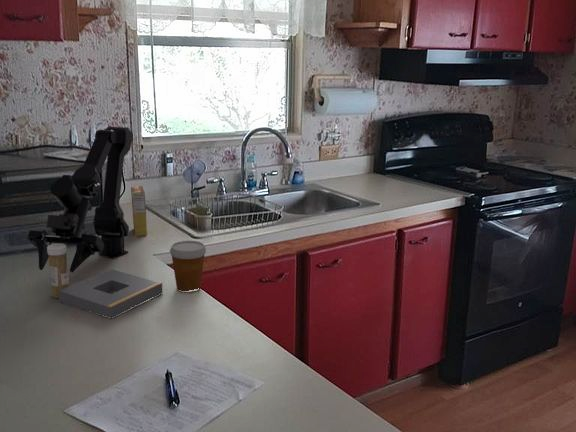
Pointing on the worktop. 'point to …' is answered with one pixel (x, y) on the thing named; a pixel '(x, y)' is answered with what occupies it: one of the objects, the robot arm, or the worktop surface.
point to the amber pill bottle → (58, 267)
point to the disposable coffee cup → (188, 264)
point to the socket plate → (98, 299)
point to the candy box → (139, 210)
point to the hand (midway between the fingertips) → (55, 270)
